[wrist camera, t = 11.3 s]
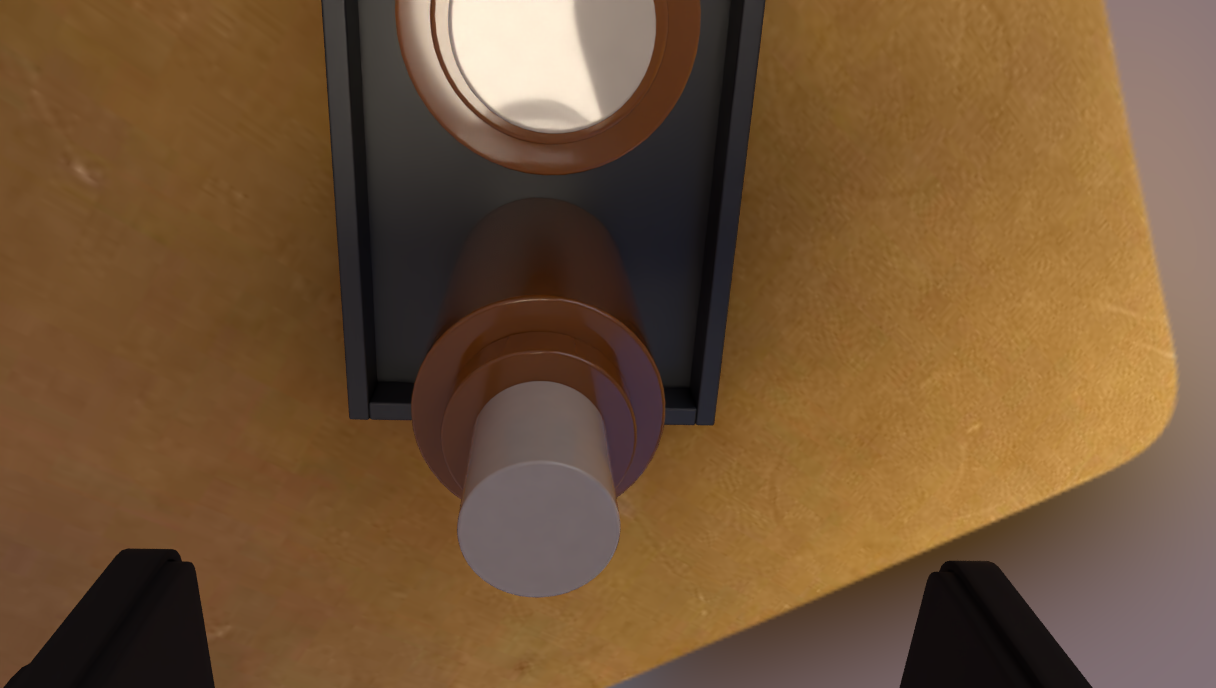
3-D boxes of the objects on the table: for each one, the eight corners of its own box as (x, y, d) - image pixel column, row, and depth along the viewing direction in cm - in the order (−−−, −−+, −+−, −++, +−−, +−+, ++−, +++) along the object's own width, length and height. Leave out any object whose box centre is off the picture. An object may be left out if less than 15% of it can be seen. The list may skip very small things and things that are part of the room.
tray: (804, -507, 19) (835, -566, 17) (702, 397, 28) (714, 426, 26) (306, -570, 18) (277, -640, 16) (363, 390, 27) (348, 419, 25)
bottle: (649, -83, 21) (786, -200, 9) (635, 121, 23) (734, 239, 11) (448, -99, 21) (323, -241, 9) (450, 111, 23) (351, 224, 11)
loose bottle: (630, 200, 24) (717, 388, 12) (619, 361, 26) (685, 659, 14) (453, 193, 24) (363, 380, 12) (455, 357, 26) (380, 661, 14)
